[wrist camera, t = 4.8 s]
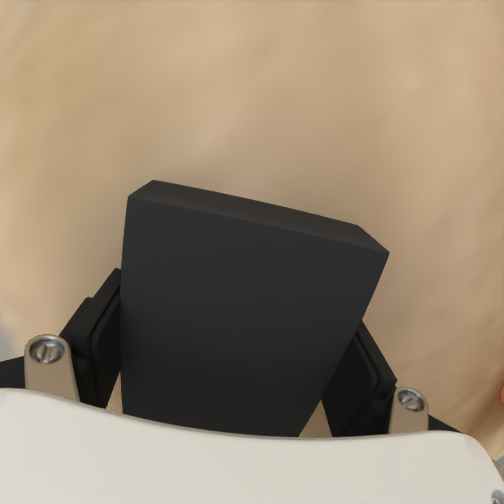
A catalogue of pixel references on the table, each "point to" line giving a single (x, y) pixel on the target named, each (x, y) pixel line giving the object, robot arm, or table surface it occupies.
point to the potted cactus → (502, 394)
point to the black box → (236, 308)
